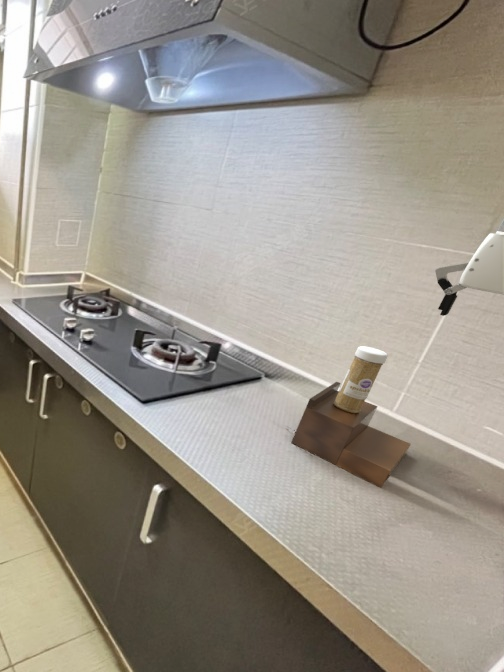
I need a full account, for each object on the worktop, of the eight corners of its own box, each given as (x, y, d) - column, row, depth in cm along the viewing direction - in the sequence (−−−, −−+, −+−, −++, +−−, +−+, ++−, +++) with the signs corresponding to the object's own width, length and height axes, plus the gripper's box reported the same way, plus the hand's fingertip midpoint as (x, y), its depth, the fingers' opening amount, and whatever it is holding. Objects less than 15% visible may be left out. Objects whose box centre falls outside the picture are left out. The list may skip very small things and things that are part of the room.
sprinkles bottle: (345, 413, 79) (373, 354, 75) (327, 401, 84) (352, 344, 79) (366, 414, 80) (395, 355, 75) (346, 402, 84) (373, 345, 79)
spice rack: (402, 459, 82) (427, 415, 78) (380, 487, 73) (407, 439, 69) (318, 421, 93) (336, 381, 89) (290, 442, 84) (309, 398, 80)
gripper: (621, 237, 62) (556, 336, 68) (463, 222, 75) (421, 306, 81) (624, 238, 57) (555, 343, 64) (456, 221, 70) (412, 310, 77)
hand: (480, 322), depth 72 cm, fingers open, 9 cm apart
